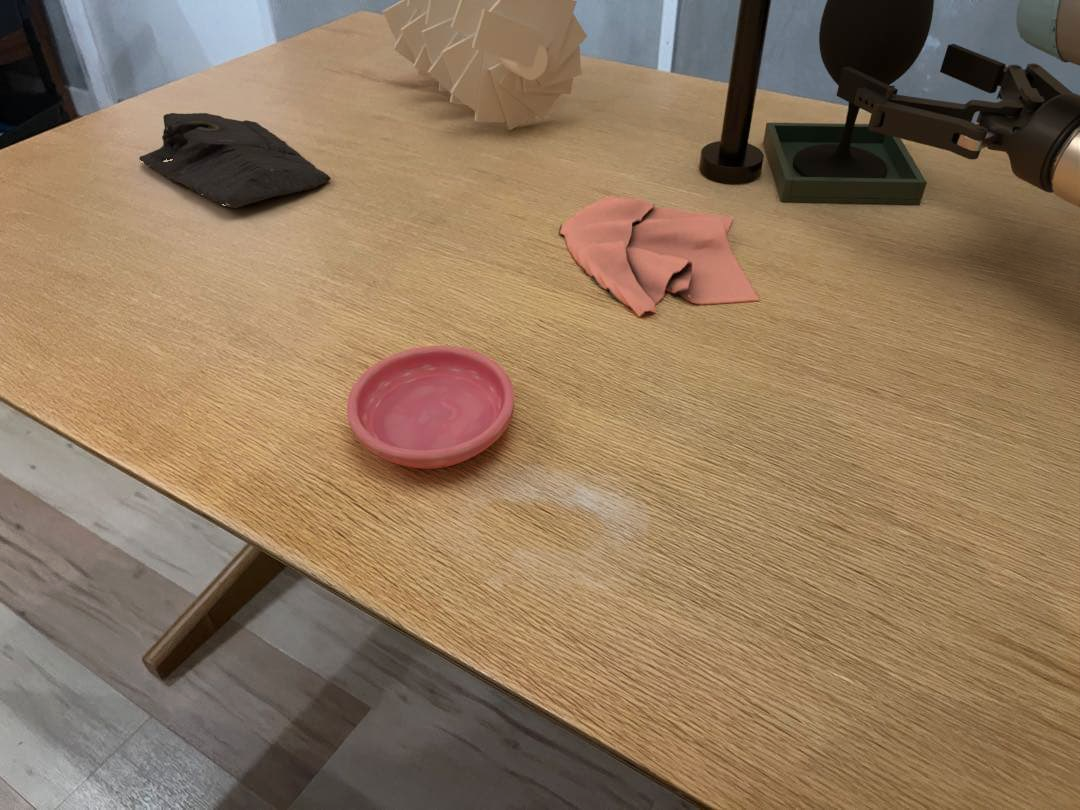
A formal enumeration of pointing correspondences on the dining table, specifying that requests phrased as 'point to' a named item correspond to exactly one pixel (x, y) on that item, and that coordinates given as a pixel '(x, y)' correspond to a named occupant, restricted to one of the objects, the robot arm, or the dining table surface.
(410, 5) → the spiral staircase
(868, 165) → the wine glass
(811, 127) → the tray
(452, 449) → the saucer
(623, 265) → the cloth
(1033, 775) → the dining table surface
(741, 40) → the post
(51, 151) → the dining table surface
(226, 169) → the folded black garment
